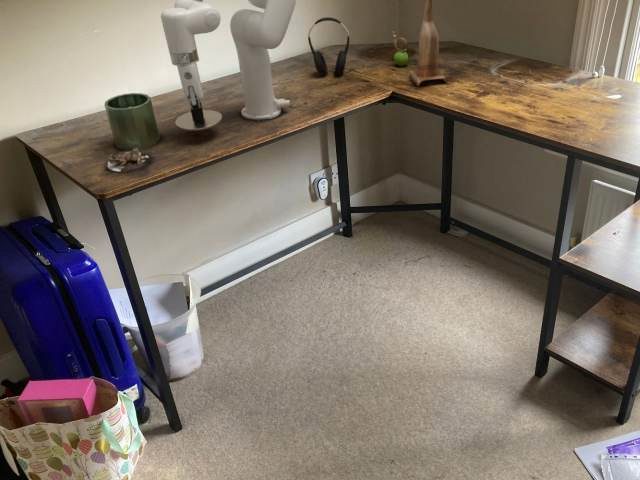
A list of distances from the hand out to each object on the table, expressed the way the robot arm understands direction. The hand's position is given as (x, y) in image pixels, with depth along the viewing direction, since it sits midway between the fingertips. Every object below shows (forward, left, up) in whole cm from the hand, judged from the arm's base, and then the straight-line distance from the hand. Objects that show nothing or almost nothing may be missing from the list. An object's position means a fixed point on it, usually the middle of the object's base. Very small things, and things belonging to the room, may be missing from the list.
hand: (198, 118), depth 191 cm
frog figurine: (+21, +12, -6) cm, 25 cm away
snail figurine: (-75, -46, -6) cm, 88 cm away
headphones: (-48, -44, -6) cm, 65 cm away
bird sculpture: (-80, -27, -6) cm, 85 cm away
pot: (+19, -3, -6) cm, 20 cm away
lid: (0, 0, -1) cm, 1 cm away
